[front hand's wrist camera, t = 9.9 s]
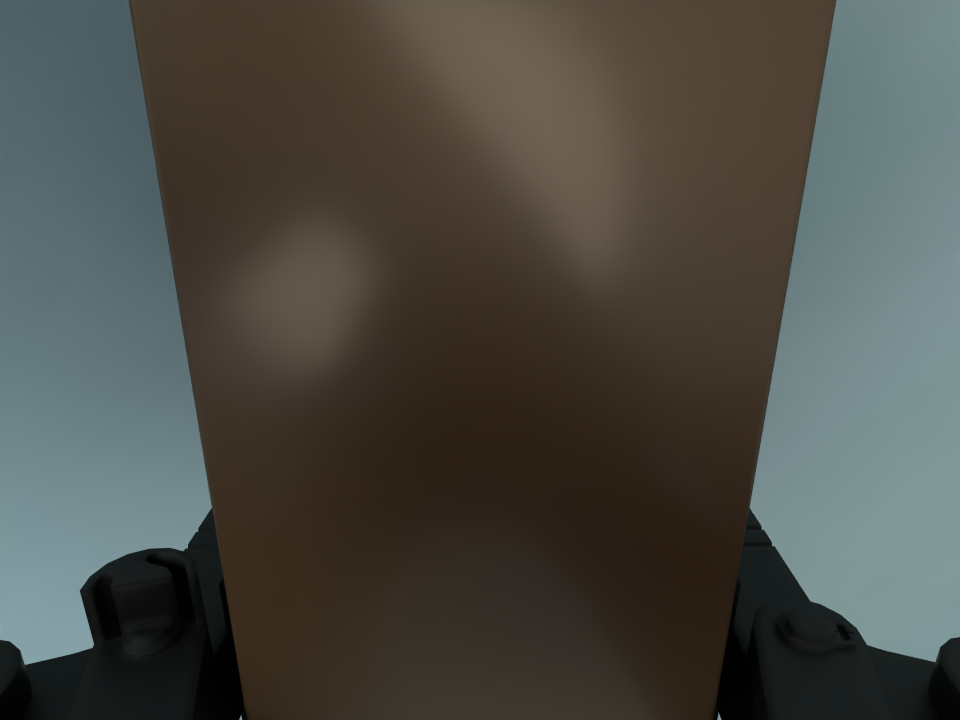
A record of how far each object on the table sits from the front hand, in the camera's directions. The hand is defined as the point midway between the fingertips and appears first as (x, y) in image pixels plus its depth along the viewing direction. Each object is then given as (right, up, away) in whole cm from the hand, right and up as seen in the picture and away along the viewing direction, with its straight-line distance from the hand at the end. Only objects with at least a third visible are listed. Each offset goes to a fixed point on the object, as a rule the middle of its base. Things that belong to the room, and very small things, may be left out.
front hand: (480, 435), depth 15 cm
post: (0, +25, -9) cm, 27 cm away
